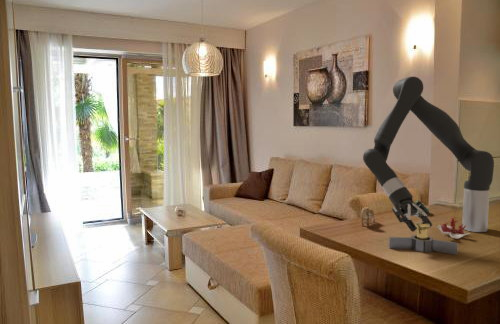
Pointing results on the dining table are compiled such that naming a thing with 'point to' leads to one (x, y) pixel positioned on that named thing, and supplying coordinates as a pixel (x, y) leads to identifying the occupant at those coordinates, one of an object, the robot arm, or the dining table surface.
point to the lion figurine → (366, 215)
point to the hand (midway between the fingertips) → (422, 228)
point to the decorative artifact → (424, 206)
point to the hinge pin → (422, 230)
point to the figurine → (453, 229)
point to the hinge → (423, 244)
